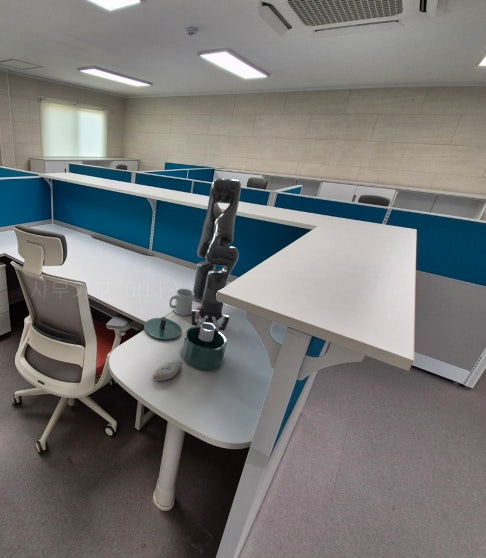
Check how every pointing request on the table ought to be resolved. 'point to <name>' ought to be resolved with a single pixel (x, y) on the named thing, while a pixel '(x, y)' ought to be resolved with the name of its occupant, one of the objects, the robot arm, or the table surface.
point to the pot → (203, 350)
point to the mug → (182, 302)
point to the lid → (162, 328)
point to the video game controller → (198, 314)
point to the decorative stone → (167, 370)
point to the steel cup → (206, 332)
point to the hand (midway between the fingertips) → (205, 335)
